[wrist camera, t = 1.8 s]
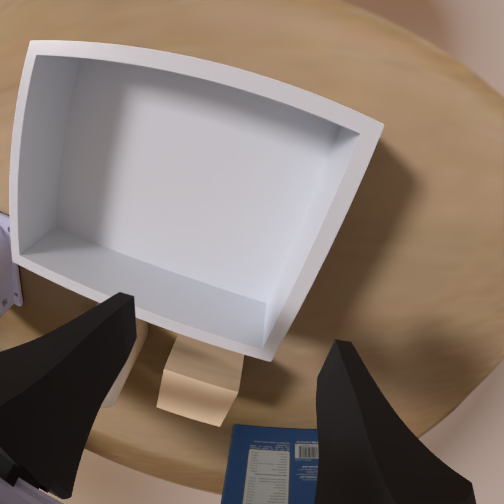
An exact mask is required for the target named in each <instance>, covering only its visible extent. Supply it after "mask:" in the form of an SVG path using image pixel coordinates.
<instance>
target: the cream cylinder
mask: <svg viewBox="0 0 504 504" xmlns="http://www.w3.org/2000/svg"><path fill="white" fill-rule="evenodd" d="M99 304H100V303H99V302H98V303H97V304H96V306H97V305H99ZM136 331H137V339H136V341H135V343H134V346H133V348H132V351H131V353H130V355H129V358H128V360H127V362H126V363H125V365H124V367H123V368H122V370H121V372H120V374H119V375H118V377H117V379H116V380H115V382H114V384H113V386H112V387H111V389H110V391H109V393H108V394H107V396H106V398H105V399H104V401H103V403H102V405H101V407H102V408H108V407H111V406H113V405H114V404H115V402H116V400H117V398H118V396H119V394H120V392H121V390H122V388H123V386H124V384H125V381H126V379H127V377H128V375H129V373H130V371H131V369H132V367H133V365H134V363H135V361H136V359H137V357H138V355H139V353H140V351H141V349H142V347H143V345H144V343H145V341H146V339H147V337H148V334H149V329H148V324H147V322H146V321H144V320H141V319H138V318H136Z"/></svg>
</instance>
